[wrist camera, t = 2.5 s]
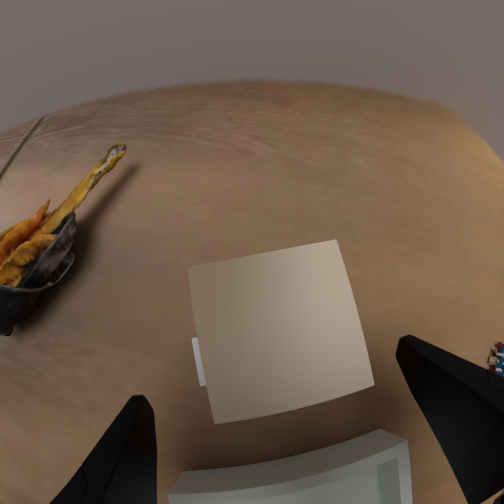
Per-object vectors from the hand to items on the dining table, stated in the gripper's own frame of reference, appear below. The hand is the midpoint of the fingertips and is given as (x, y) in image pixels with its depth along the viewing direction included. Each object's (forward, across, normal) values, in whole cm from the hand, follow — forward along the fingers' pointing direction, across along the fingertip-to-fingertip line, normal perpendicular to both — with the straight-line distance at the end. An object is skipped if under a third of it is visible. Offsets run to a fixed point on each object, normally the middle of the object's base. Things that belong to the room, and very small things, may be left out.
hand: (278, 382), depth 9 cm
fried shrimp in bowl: (+15, +15, -1) cm, 21 cm away
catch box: (-2, 0, +15) cm, 15 cm away
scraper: (+8, 0, +6) cm, 9 cm away
